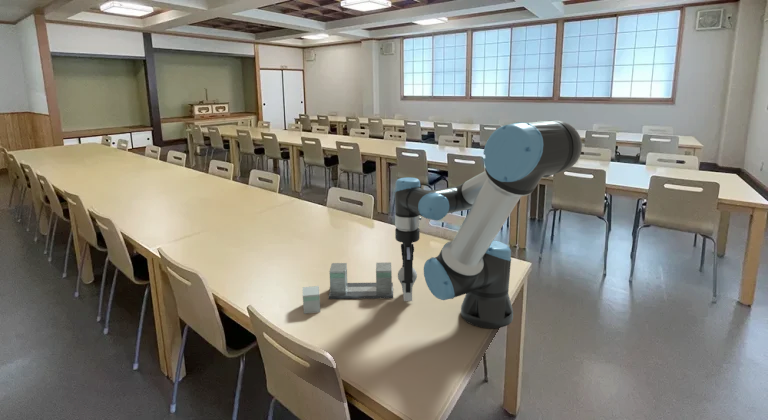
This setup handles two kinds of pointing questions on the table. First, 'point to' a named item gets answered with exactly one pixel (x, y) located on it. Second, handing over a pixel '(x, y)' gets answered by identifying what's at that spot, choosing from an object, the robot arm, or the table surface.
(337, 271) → the grey u-shaped piece
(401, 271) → the lightbulb
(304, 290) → the module
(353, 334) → the table surface
